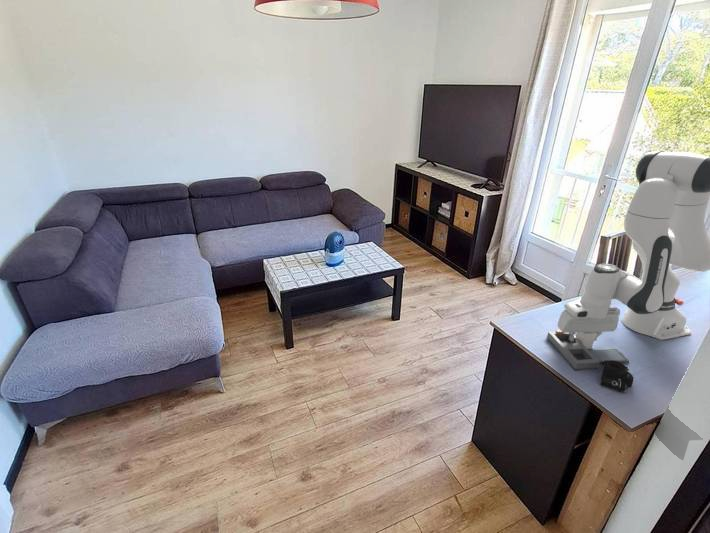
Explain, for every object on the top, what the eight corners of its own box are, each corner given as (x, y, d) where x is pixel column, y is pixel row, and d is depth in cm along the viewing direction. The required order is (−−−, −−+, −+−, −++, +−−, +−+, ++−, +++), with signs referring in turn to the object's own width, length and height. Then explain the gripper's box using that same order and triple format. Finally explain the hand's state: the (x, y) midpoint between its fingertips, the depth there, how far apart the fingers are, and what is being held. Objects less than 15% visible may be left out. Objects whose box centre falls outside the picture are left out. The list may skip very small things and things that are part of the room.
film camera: (604, 348, 125) (640, 356, 117) (605, 367, 127) (640, 376, 119) (589, 368, 118) (626, 377, 110) (590, 387, 120) (627, 398, 112)
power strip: (567, 337, 140) (569, 329, 138) (597, 369, 124) (600, 360, 122) (546, 338, 139) (548, 330, 138) (574, 370, 123) (577, 361, 122)
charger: (584, 341, 137) (589, 326, 134) (591, 348, 134) (596, 333, 131) (573, 341, 137) (578, 326, 134) (580, 348, 133) (585, 333, 130)
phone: (615, 351, 132) (616, 348, 131) (628, 363, 126) (629, 360, 126) (580, 352, 131) (581, 350, 131) (592, 364, 126) (592, 362, 125)
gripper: (615, 302, 131) (603, 334, 137) (560, 303, 130) (551, 335, 136) (628, 312, 126) (615, 344, 132) (570, 313, 125) (560, 346, 131)
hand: (582, 340), depth 134 cm, fingers open, 6 cm apart
